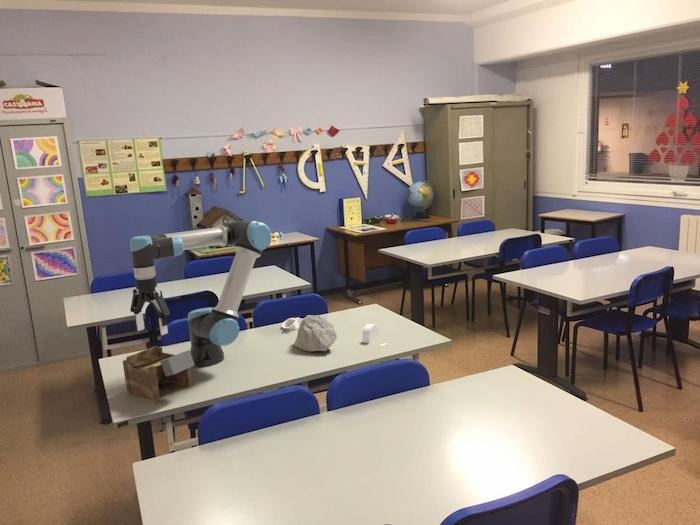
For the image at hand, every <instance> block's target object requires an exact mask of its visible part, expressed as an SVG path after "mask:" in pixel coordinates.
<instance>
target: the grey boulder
mask: <svg viewBox="0 0 700 525" xmlns="http://www.w3.org/2000/svg"><path fill="white" fill-rule="evenodd" d="M302 319H303V321H302V323H301V322H300V324H299V325H300V327H299V328H298V329H297V336H296V339H295V341H294V343H293V345H294V347H297V348H298V349H300V350H302V351H305V352H326V351H327V350H328V349H329V348H330V347H332V345H333V344H334V343H335V341H336V340H337V333H336V330H335V327H334V325H333V324H332V323H331V322H330V321H328V319H327V318H326V317H322V316H321V315H319V314H316V315H315V314H314V315H313V314H312V315H306V317H304V318H302Z"/></svg>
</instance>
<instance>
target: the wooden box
mask: <svg viewBox="0 0 700 525" xmlns="http://www.w3.org/2000/svg"><path fill="white" fill-rule="evenodd" d="M175 355H176V354H172V353H168V352H163V347H162V346H158V345H154V346H153V347H149V348H147V349H144V350H141V351H139V352H137V353H134V354H131V355H128V356H126V359H123V360H122V366H123V372H124V380H125V387H126V394H127V396H132V397H136V398H139V399H142V400H145V401H149V402H153V403H154V404H159V403H161V396H160V389H159V388H160V387H159V382H161V381H166V382H171V383H173V384H178V385H182V386H186V387H187V388H191V387H192V386H193V376H192V369H191V367H190V368H187V369H185V370H183V371H181V372H178V373H176V374H174V375H170V376H165V373H164V370H163V368H162V365H159V366H150V367H149V368H150V369H143V367H145V366H143V367H133V365H135V364H137V363H139V362H142V361H144V360H148V359H151V358H155V357H159V356H167V357H166V358H169V357H172V356H175ZM166 358H165V359H166Z"/></svg>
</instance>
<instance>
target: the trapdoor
mask: <svg viewBox="0 0 700 525" xmlns="http://www.w3.org/2000/svg"><path fill="white" fill-rule="evenodd" d="M174 355H175V356H172V357H169V358H166V359H163V360H160V361H158V362H156V363H154V364H151V365H148V366H145V367H143V369H150V368H149V367H150V366H159V365H162V368H163V370H164V373H165V376H170V375H174V374H176V373H178V372H181V371H183V370H185V369H187V368H191V367H195V366H194V365H195V364H194V362H193V359H192V356H191V353H190V349H189V350H186V351H182V352H179V353H177V354H174Z"/></svg>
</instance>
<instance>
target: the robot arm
mask: <svg viewBox="0 0 700 525" xmlns="http://www.w3.org/2000/svg"><path fill="white" fill-rule="evenodd" d="M272 240H273V238H272V231H271V229H270V227H269V226H268V225H267V224H266V223H264V222H260V221H257V220H256V221H254V220H237V221H232V222H228V223H227V222H226V223H223V224H222V223H220V224H217V226H216V227H209V228H202V229H201V228H200V229H195V230H186V231H179V232H173V233H172V232H171V233H164V234H157V235H151V234H149V235H148V234H147V235H140V236H139V235H137V236H133V237H131V238H130V241H129V248H130V255H131V256H130V257H131V261H132V267H133V275H134V278H135V279H134V282H135V283H134V284H135V288H133V289H132V299H131V303H130V309H129V310H130V313H133V314H134V318H135V322H136V329H137V332H140V331H143V330H145V321H144V315H143V312H142V311H143V308H144V306H145V304H146V303H149V304H150V305H151V306H152V307H153V309H154V310H155V311H156V313H157V315H158V316H159V317H158V323H159V330H160V336H164V335H166V334H168V333H169V330H168V318H167V317H168V316H170V315H171V312H170V310H169V307H168V305H167V303H166V301H165V298H164V296H163V292H162V290H158V291H157V290H156V287H157V286H158V283H157V277H156V275H157V274H156V267H155V260H156V261H157V260H160V259H162V260H163V259H168V258H175V257H179V256H181V255H183V253H184V251H185V250H186V251H187V250H192V249H199V248H206V247H211V246H212V247H213V246H220V247H226V246H229V247H234V249H235V256H234V258H233V262H232V264H231V266H230V269H229V272H228V274H227V277H226V280H225V283H224V286H223V288H222V291H221V294H220V297H219V299H218V302H217V305H216V306H215V307H204V308H198V309H197V308H196V309H195V310H192V311H190V312H188V314H187V324H188V330H189V338H190V349H189V350H190V353H191V356H192V359H193V362H194V364H195V365H194V366H193V367H207V366H214V365H216V364H219V363H221V362H222V361H224V360H225V353H224V352H225V351H224V350H223V348H222V346H224V347H225V346H229V345H230V344H232V343H234V342H235V341H236V340H237V338H238V337H239V334H240V326H239V323H238V322H239V318H240V316H239V313H238V311H239V307H240V304H241V301H242V299H243V296H244V294H245V290H246V288H247V285H248V282H249V280H250V277H251V274H252V271H253V268H254V264H255V262H256V259H258V258H260V257H261V256H262V253H263V251H264V250H266V249H267V248H270V245H271V243H272Z"/></svg>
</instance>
